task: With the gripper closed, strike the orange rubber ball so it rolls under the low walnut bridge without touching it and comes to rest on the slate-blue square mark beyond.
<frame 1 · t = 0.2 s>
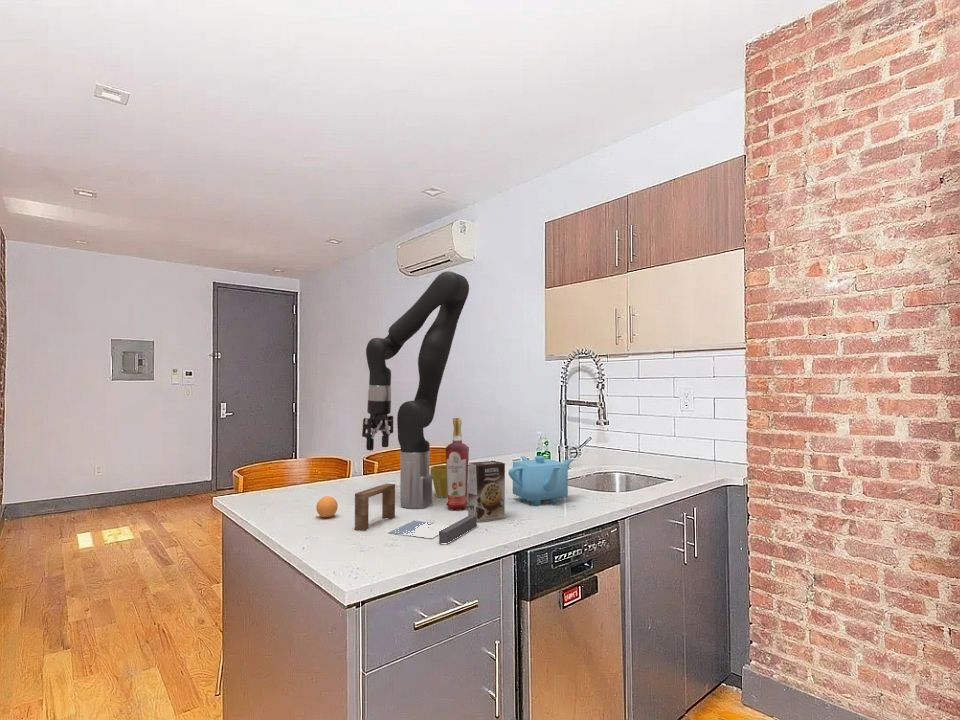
hand: (377, 448, 182), 17 cm above the worktop, tool pointing down, fingers open, 8 cm apart
teakettle: (542, 501, 184), on the worktop
liquor: (457, 509, 173), on the worktop
plant pot: (445, 495, 192), on the worktop
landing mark: (422, 529, 150), on the worktop
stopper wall: (458, 534, 145), on the worktop
bridge: (375, 523, 156), on the worktop
medicine bottle: (473, 502, 182), on the worktop
ball: (327, 506, 163), on the worktop
coffee box: (486, 519, 161), on the worktop
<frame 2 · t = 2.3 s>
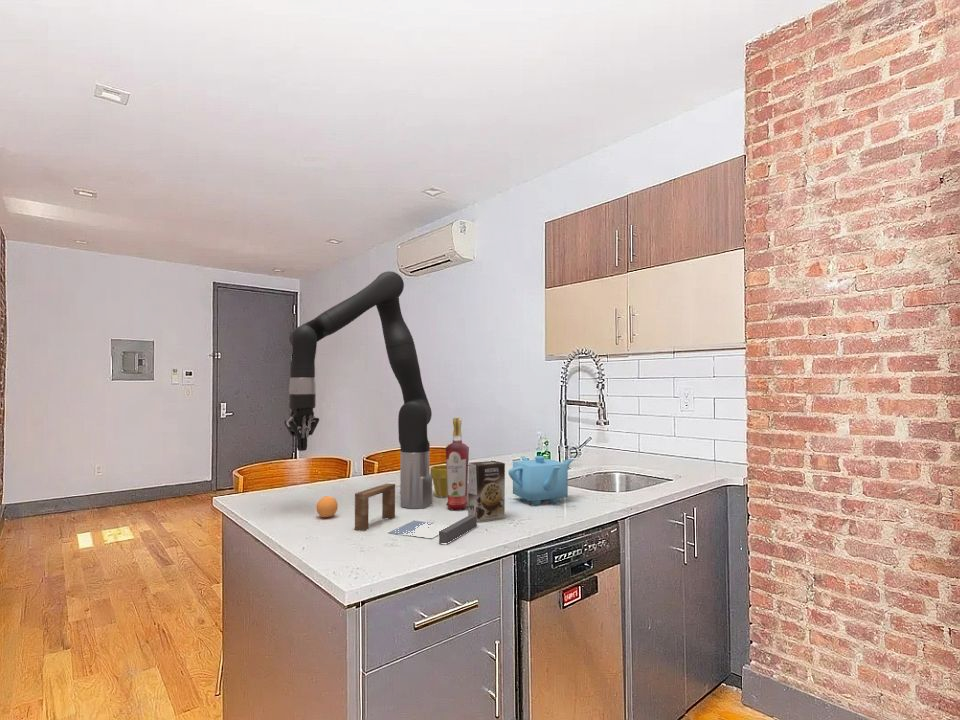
hand: (302, 450, 167), 19 cm above the worktop, tool pointing down, fingers closed
nothing on the worktop moved.
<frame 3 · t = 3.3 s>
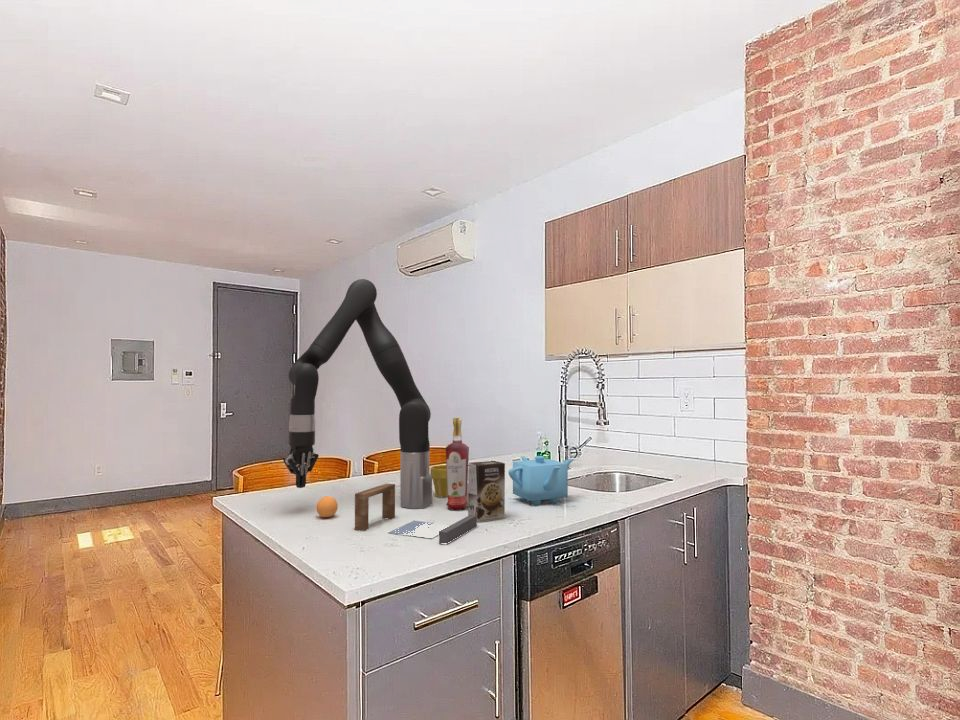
hand: (300, 487, 167), 8 cm above the worktop, tool pointing down, fingers closed
nothing on the worktop moved.
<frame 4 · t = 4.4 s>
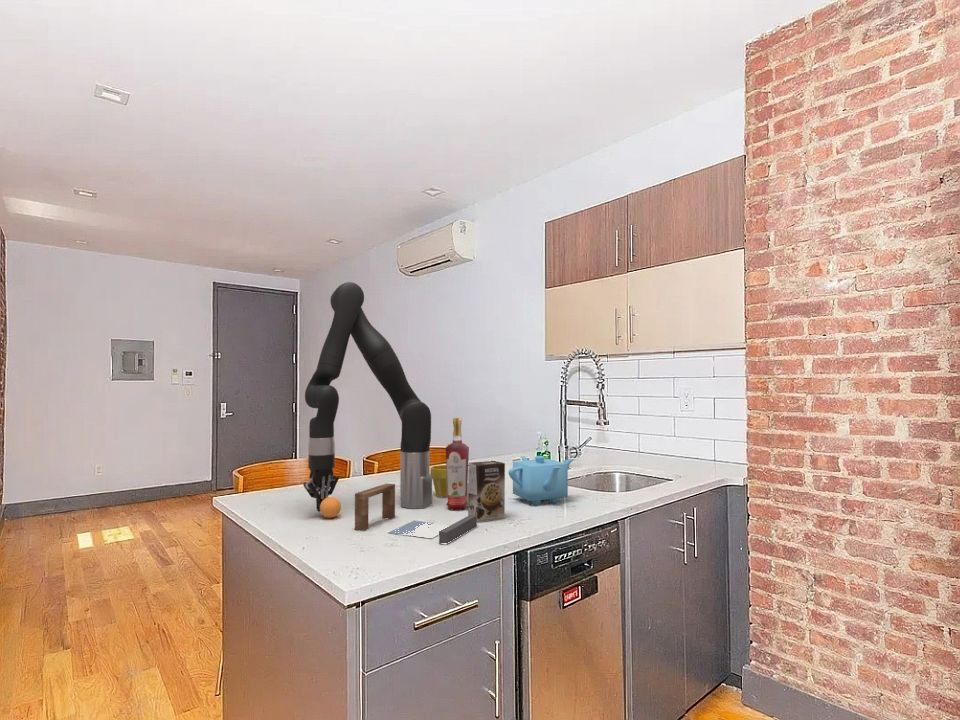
hand: (321, 511, 165), 1 cm above the worktop, tool pointing down, fingers closed
ball: (330, 507, 162), on the worktop, touching gripper
everything else where it was.
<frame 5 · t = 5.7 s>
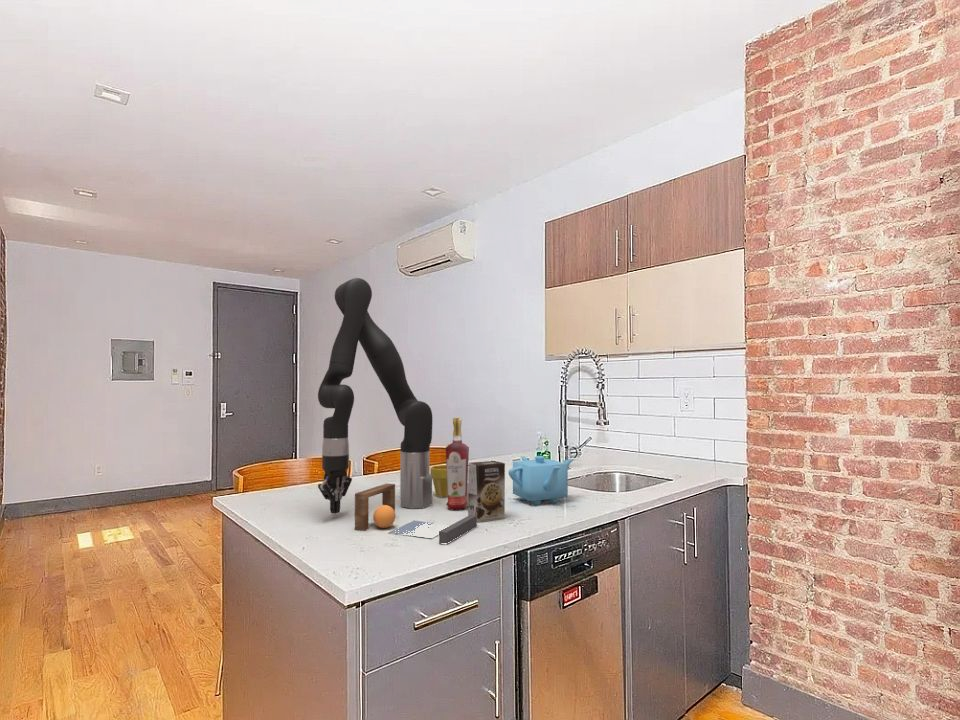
hand: (335, 512, 162), 2 cm above the worktop, tool pointing down, fingers closed
ball: (384, 516, 152), on the worktop
everything else where it was.
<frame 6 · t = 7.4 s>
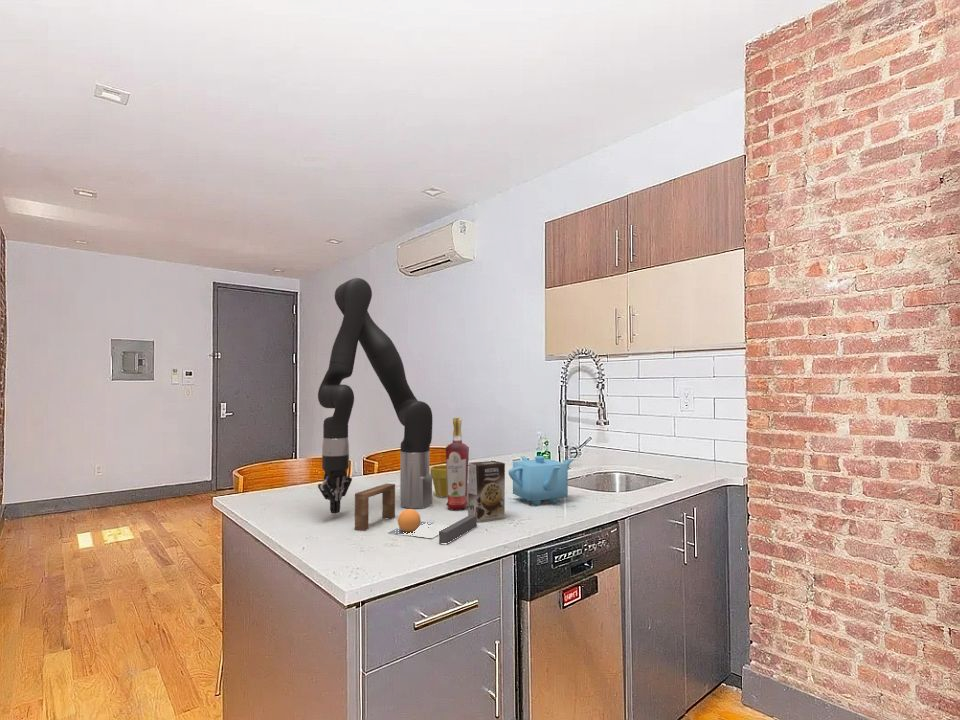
hand: (335, 512, 162), 2 cm above the worktop, tool pointing down, fingers closed
ball: (409, 520, 148), on the worktop
everything else where it was.
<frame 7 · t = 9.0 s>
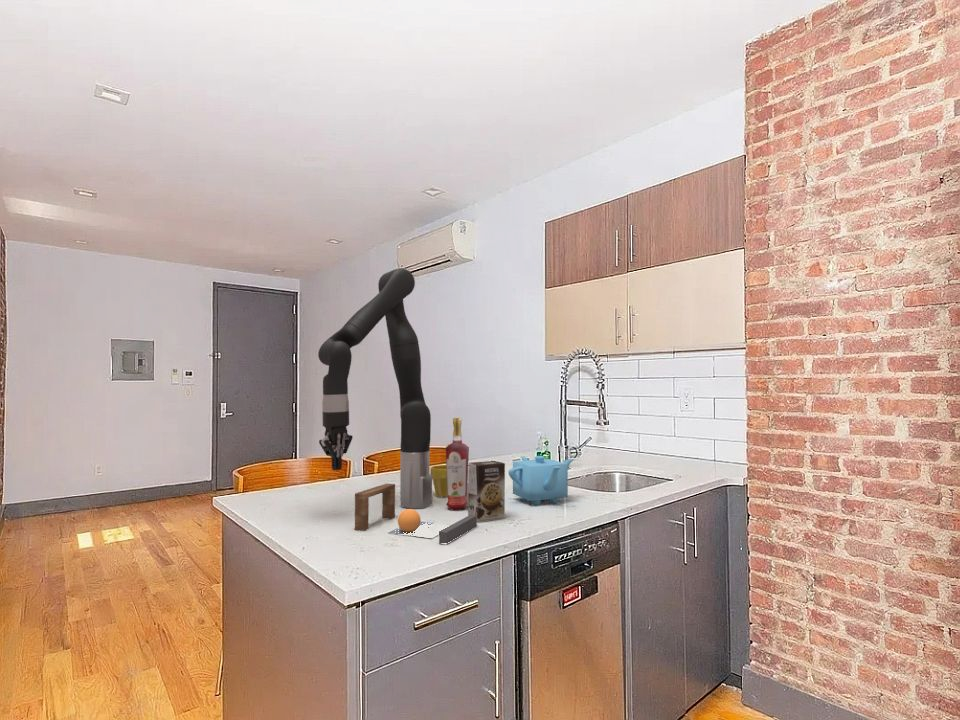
hand: (336, 469, 161), 14 cm above the worktop, tool pointing down, fingers closed
nothing on the worktop moved.
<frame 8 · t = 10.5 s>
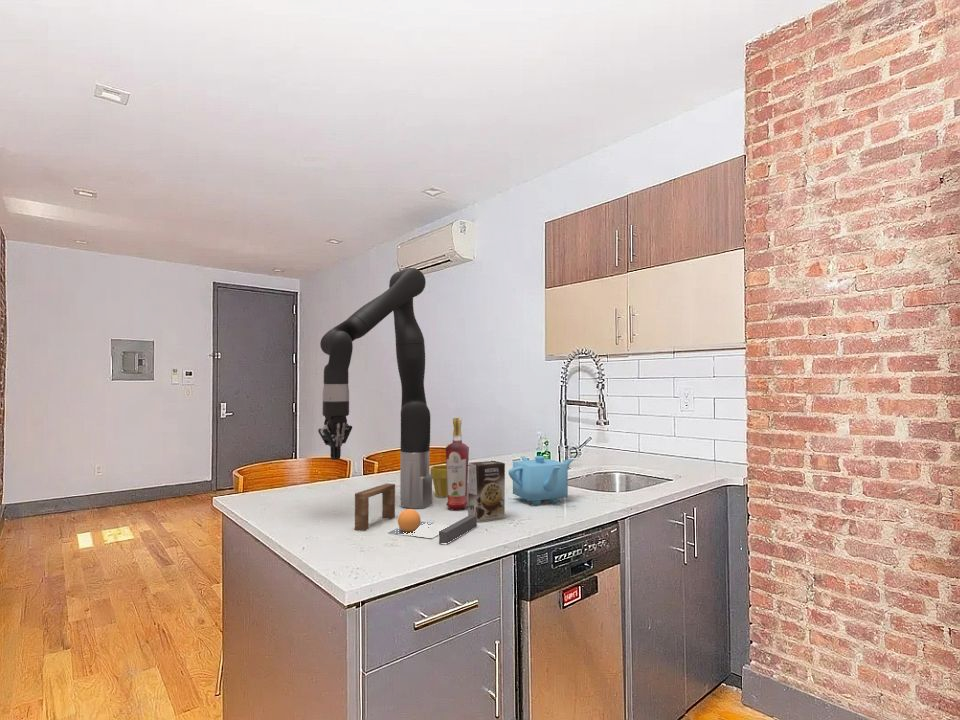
hand: (335, 459, 162), 17 cm above the worktop, tool pointing down, fingers closed
nothing on the worktop moved.
at the end: ball 3.8 cm from the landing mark (horizontally); ball never touched bridge; ball at rest at the end (0.0 cm/s) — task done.
